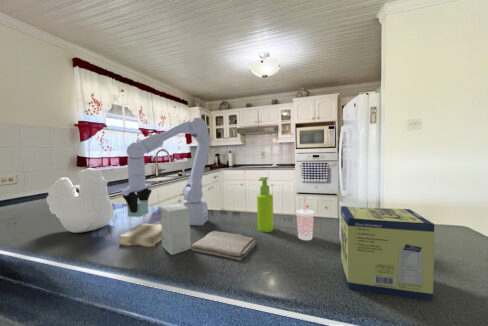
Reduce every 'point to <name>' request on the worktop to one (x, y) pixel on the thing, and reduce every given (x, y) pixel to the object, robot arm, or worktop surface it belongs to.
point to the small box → (175, 228)
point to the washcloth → (225, 245)
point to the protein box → (387, 251)
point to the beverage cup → (305, 222)
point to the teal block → (139, 209)
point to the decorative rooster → (81, 202)
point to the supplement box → (349, 206)
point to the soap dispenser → (265, 207)
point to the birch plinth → (142, 235)
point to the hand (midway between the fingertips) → (138, 210)
